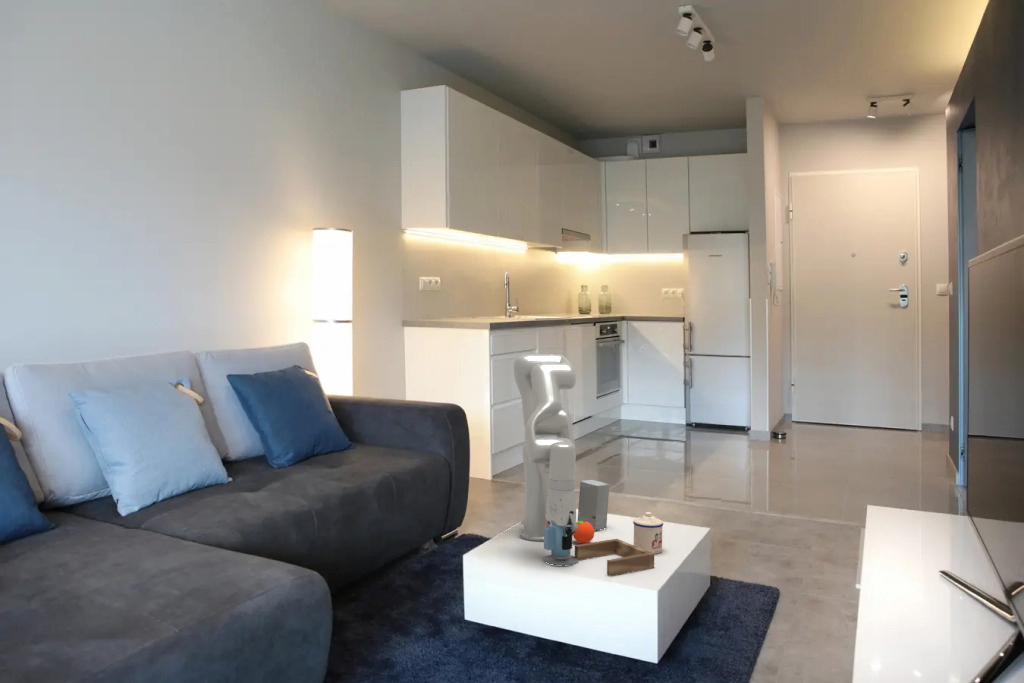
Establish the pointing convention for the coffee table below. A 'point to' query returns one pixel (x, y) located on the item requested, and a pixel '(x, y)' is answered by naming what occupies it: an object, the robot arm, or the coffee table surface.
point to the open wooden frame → (630, 554)
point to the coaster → (561, 560)
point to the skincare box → (593, 503)
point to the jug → (555, 540)
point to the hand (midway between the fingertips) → (560, 545)
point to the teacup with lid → (648, 533)
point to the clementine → (584, 532)
